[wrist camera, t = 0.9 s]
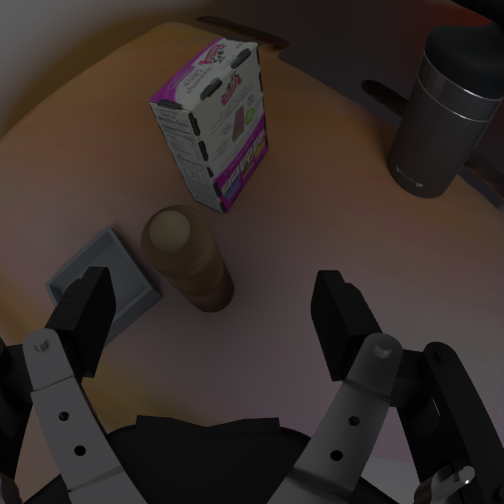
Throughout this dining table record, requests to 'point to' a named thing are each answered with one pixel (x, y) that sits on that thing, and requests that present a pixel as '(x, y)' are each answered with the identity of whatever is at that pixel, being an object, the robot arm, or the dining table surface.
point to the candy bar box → (215, 120)
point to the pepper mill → (188, 257)
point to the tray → (122, 275)
